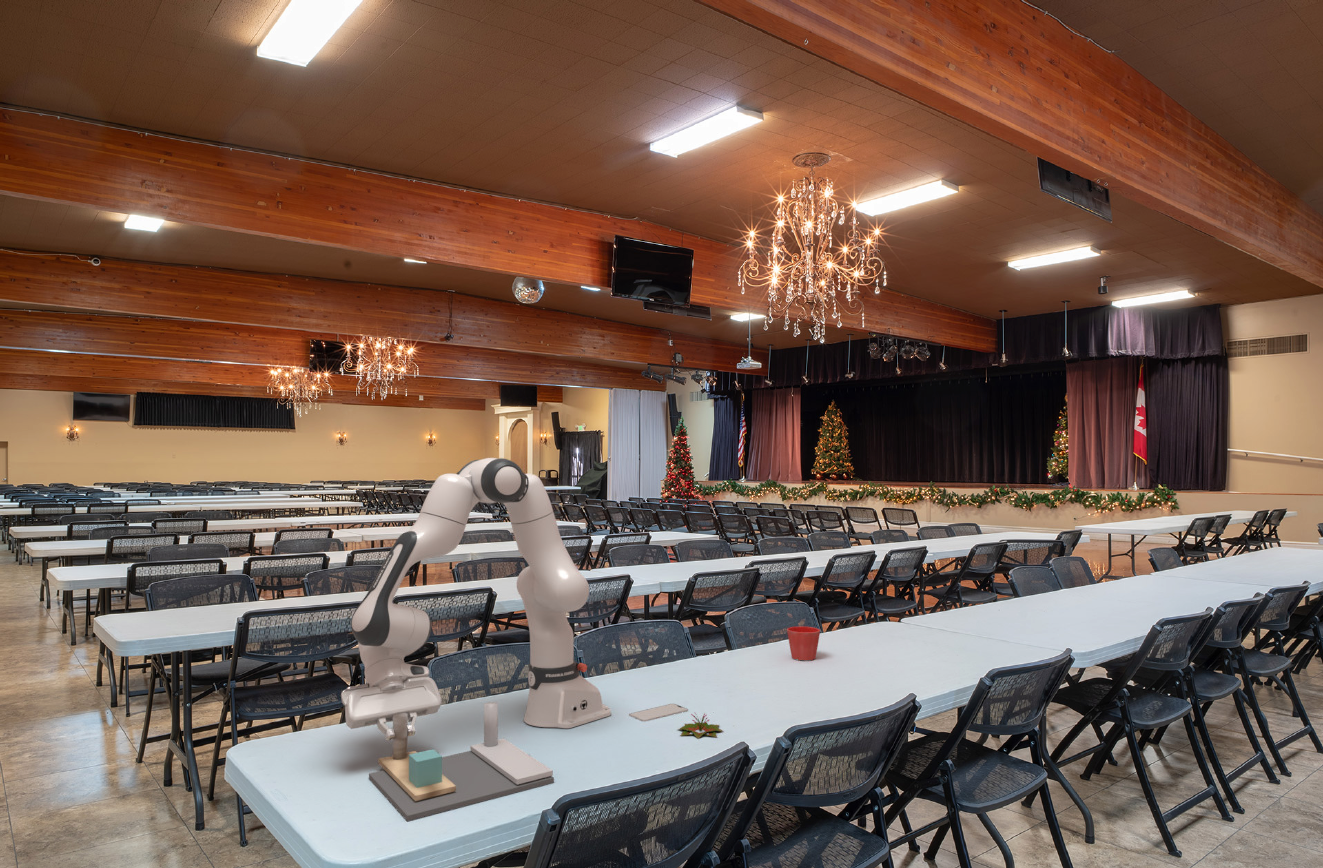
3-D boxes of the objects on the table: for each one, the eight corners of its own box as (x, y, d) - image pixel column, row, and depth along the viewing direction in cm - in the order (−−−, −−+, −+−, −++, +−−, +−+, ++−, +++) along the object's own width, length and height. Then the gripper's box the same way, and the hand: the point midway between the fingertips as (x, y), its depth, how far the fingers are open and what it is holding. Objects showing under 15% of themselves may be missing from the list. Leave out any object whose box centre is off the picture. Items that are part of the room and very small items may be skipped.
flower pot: (801, 653, 274) (800, 624, 275) (826, 658, 266) (826, 629, 266) (780, 657, 268) (780, 628, 268) (806, 663, 259) (805, 633, 260)
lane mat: (502, 747, 183) (502, 743, 183) (553, 782, 163) (553, 777, 163) (368, 778, 166) (368, 773, 166) (407, 821, 146) (407, 815, 146)
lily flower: (723, 742, 187) (722, 722, 188) (672, 740, 189) (672, 720, 189) (726, 726, 199) (726, 707, 199) (679, 723, 201) (679, 705, 201)
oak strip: (415, 755, 175) (415, 709, 176) (455, 790, 156) (456, 739, 156) (378, 763, 171) (378, 716, 171) (415, 801, 151) (415, 747, 152)
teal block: (433, 774, 162) (433, 749, 162) (442, 781, 158) (442, 756, 158) (408, 779, 159) (408, 754, 159) (417, 787, 155) (417, 761, 155)
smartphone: (627, 713, 207) (672, 703, 216) (627, 716, 207) (672, 705, 216) (643, 721, 202) (689, 709, 210) (643, 723, 201) (689, 712, 210)
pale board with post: (503, 742, 183) (503, 698, 183) (552, 775, 164) (552, 725, 164) (470, 750, 178) (470, 704, 179) (516, 784, 159) (516, 733, 159)
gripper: (342, 680, 172) (353, 738, 163) (434, 665, 184) (450, 719, 175) (336, 696, 175) (348, 754, 167) (428, 681, 187) (442, 734, 179)
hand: (401, 736), depth 171 cm, fingers closed on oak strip, 3 cm apart
